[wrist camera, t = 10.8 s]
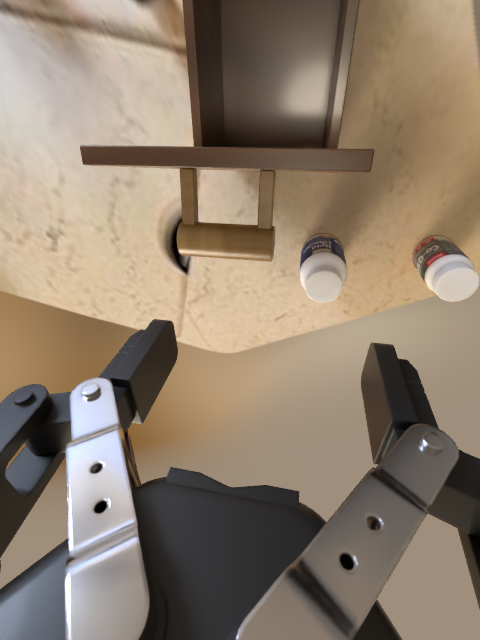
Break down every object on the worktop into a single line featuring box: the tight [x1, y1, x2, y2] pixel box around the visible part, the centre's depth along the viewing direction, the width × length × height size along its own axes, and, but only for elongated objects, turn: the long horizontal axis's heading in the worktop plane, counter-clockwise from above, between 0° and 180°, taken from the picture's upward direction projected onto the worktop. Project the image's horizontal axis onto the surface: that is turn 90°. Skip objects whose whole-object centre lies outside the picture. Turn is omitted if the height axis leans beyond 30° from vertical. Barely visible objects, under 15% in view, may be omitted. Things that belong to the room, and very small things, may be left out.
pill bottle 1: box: [300, 234, 347, 303], centre depth 38 cm, size 5×5×10 cm
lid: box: [80, 145, 374, 261], centre depth 21 cm, size 16×13×5 cm
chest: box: [183, 0, 360, 149], centre depth 28 cm, size 16×13×10 cm
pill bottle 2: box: [412, 236, 480, 302], centre depth 36 cm, size 5×5×8 cm
